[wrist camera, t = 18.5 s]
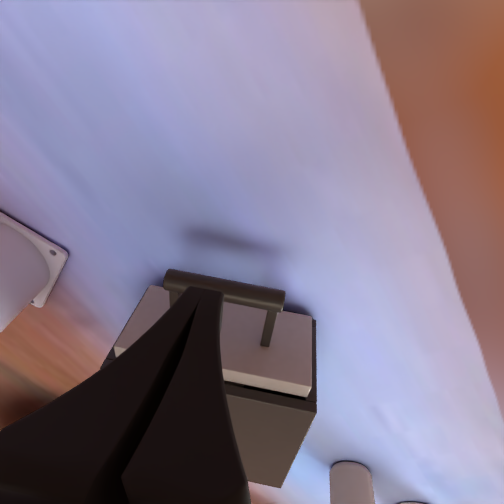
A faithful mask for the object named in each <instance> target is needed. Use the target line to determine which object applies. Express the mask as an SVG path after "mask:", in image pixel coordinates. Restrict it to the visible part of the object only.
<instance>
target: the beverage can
mask: <svg viewBox="0 0 504 504" xmlns="http://www.w3.org/2000/svg"><path fill="white" fill-rule="evenodd" d="M330 504H375V499H374V491H373V483H372V475H371V474H370V472H369V471H368V469H367V468H366V467H365V466H363V465H361V464H359V463H355V462H339V463H336V464H335V465H334V466H333V467H332V469H331V470H330Z"/></svg>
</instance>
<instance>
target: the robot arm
mask: <svg viewBox="0 0 504 504" xmlns="http://www.w3.org/2000/svg"><path fill="white" fill-rule="evenodd" d="M67 259H68V253H67V252H66V251H65V250H64V249H62V248H60V247H59V246H57V245H55V244H54V243H52V242H50V241H48V240H47V239H45V238H43V237H42V236H40V235H38V234H37V233H35V232H33V231H32V230H30V229H28V228H27V227H25V226H23V225H22V224H20V223H18V222H16V221H15V220H13V219H11V218H10V217H8V216H6V215H5V214H3V213H1V212H0V333H1V332H2V331H3V330H4V329H5V328H6V327H7V326H8V325H9V324H10V323H11V322H12V320H13V319H14V318H15V317H16V316H17V315H18V314H19V313H20V312H21V311H22V310H23V309H24V308H25V307H26V306H27V305H28V304H29V303H30V304H32V305H34V306H35V307H39V308H40V307H42V306H43V305H44V304H45V302H46V300H47V298H48V296H49V294H50V292H51V291H52V289H53V287H54V285H55V283H56V281H57V279H58V277H59V275H60V273H61V271H62V269H63V267H64V265H65V263H66V261H67ZM223 305H224V294H223V293H222V292H220V291H214V290H209V289H204V288H199V287H193V286H189V287H187V288H186V289H185V291H184V292H183V293H182V294H181V296H180V297H179V298H178V299H177V300H176V301H175V303H174V304H173V305H172V306H171V307H170V308H169V309H168V310H167V311H166V312H165V313H164V314H163V315H162V316H161V318H160V319H159V320H158V321H157V322H156V323H155V324H154V325H153V326H152V327H151V328H150V329H148V330H147V331H146V332H145V333H144V334H143V335H142V336H141V337H140V338H139V339H138V340H136V341H135V342H134V343H133V344H132V345H131V346H130V347H128V348H127V349H126V350H125V351H124V352H123V353H121V354H120V355H119V356H118V357H116V358H115V359H114V360H112V361H111V362H110V363H109V364H107V365H106V366H105V367H103V368H102V369H100V370H99V371H98V372H96V373H95V374H94V375H92V376H91V377H89V378H88V379H86V380H85V381H83V382H82V383H80V384H79V385H77V386H76V387H74V388H73V389H71V390H69V391H68V392H66V393H65V394H63V395H61V396H60V397H58V398H57V399H55V400H53V401H52V402H50V403H49V404H47V405H45V406H43V407H42V408H40V409H38V410H36V411H34V412H33V413H31V414H29V415H27V416H25V417H23V418H22V419H20V420H18V421H16V422H14V423H13V424H11V425H9V426H7V427H5V428H3V429H2V430H1V431H0V504H251V499H250V493H249V487H248V480H247V476H246V473H245V470H244V466H243V463H242V460H241V456H240V453H239V449H238V445H237V441H236V438H235V434H234V430H233V425H232V421H231V416H230V412H229V407H228V402H227V397H226V391H225V385H224V378H223V371H222V362H221V351H220V331H221V327H222V316H223Z"/></svg>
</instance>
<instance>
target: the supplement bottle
mask: <svg viewBox="0 0 504 504" xmlns="http://www.w3.org/2000/svg"><path fill="white" fill-rule="evenodd" d="M400 504H423V503H416V502H405V503H400Z"/></svg>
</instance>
